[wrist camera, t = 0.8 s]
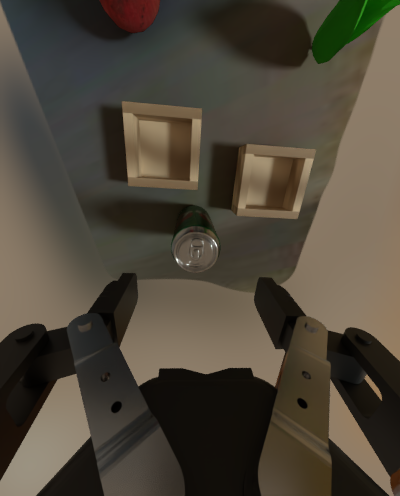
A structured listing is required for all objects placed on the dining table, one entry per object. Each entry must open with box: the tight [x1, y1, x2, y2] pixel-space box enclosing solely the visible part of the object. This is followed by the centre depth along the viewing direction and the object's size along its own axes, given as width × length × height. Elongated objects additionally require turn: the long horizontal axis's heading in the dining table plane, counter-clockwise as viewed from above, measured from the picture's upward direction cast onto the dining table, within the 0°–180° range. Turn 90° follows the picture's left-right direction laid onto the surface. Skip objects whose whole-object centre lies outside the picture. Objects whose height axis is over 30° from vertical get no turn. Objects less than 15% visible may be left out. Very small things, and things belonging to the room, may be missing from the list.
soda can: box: [171, 206, 220, 273], centre depth 24 cm, size 5×5×12 cm
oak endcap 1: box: [122, 101, 202, 190], centre depth 23 cm, size 8×8×4 cm
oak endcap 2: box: [231, 144, 316, 219], centre depth 26 cm, size 8×8×4 cm
